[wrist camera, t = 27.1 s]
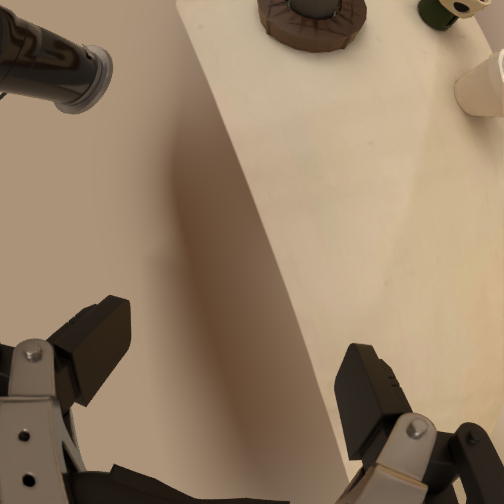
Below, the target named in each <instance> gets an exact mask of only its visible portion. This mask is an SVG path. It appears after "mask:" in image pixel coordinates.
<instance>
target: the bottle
mask: <svg viewBox="0 0 504 504" xmlns="http://www.w3.org/2000/svg"><path fill="white" fill-rule="evenodd" d="M338 1H339V0H291V3H290V9H291V10H292V11H293V12H295V13H296V14H298V15H300V16H302V17H305V18H309V19H314V20H325V19H329V18H332V16H333V14H334V11H335V9H336V6H337V3H338Z"/></svg>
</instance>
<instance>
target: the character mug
mask: <svg viewBox="0 0 504 504" xmlns="http://www.w3.org/2000/svg"><path fill="white" fill-rule="evenodd" d="M490 3H491V0H421V1H419V3H418V8H419V11H420V13H421V15H422V17H423V18H424V20H425V21H426V22H427V23H428V24H430V25H431V26H432V27H434V28H436V29H438V30H441V29H442V28H443V27H445V26H448V25H449V26H448V27H447V28H446V29H445V31H446V30H447V29H448V28H450V27H451V26H452V25H453V24H454V23H455V21H456V20H457V19H458V18H459V17H460V18H463V19H465V18H469V17H472V16H473V15H474V14H475V12H478V11H480V10H483V9H484V8H485V7H487V6H488V5H490Z"/></svg>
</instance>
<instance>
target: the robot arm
mask: <svg viewBox="0 0 504 504" xmlns="http://www.w3.org/2000/svg"><path fill="white" fill-rule="evenodd" d="M82 45H83V44H82ZM83 47H84V48H85V49H84V48H82V47H81V46H79V45H77V44H75V43H73V42H71V41H69V40H67V39H65V38H63V37H61V36H59V35H57V34H55V33H53V32H50V31H48V30H46V29H44V28H42V27H40V26H37V25H35V24H33V23H30V22H28V21H25V20H23V19H21V18H19V17H17V16H16V15H15V14H14V13H13V12H12V11H11V10H10V9H8V8H6V7H3V6H1V5H0V92H3V93H2V94H1V95H0V100H1V99H2V98H3V97H4V96H5V95H6V94H7V93H11V94H18V95H23V96H28V97H33V98H39V99H44V100H49V101H53V102H57V103H61V104H63V105H68V106H72V105H76V104H78V103H80V102H82V101H83V100H85V99H86V98H87V97H88V96H89V95H90V94H91V93H92V91H93V90H94V88H95V87H96V85H97V83H98V81H99V78H100V74H101V61H100V58H99V57H98V56H97V55H96V54H95V53H93V52H91V51H89V49H88V48H87V46H85V45H83ZM130 342H131V310H130V302H129V300H127V299H123V298H119V297H116V296H112V295H109V296H107V297H106V298H105V299H104V300H102V301H101V302H100V303H99V304H98V305H97V304H94V305H91V306H89V307H86V308H84V309H82V310H81V311H80V312H79V313H78V314H76V315H75V317H73V318H72V319H70V320H69V322H67V323H65V324H64V325H63V326H62V327H61V328H60V329H58V330H57V331H56V332H55V333H54V334H52V335H51V336H50V337H49V338H48V339H47V340H46V341H44V340H42V339H28V340H25V341H23V342H21V343H19V344H18V345H17V346H16V347H11V346H6V345H3V344H0V504H290V501H273V500H261V499H251V498H237V499H196V498H193V497H191V496H188V495H186V494H184V493H182V492H180V491H178V490H176V489H174V488H172V487H170V486H168V485H166V484H164V483H162V482H160V481H159V480H157V479H155V478H152V477H149V476H146V475H143V474H140V473H137V472H134V471H132V470H129V469H126V468H124V467H121V466H118V465H116V464H114V465H113V467H112V469H111V471H110V473H109V472H101V471H87V470H86V468H85V466H84V463H83V460H82V457H81V454H80V450H79V446H78V442H77V436H76V431H75V426H74V421H73V415H72V410H71V406H72V405H73V403H74V402H76V403H78V404H80V405H83V406H85V407H87V405H88V404H89V403H90V401H91V400H92V398H93V397H94V396H95V394H96V393H97V391H98V390H99V389H100V387H101V386H102V384H103V383H104V382H105V380H106V379H107V378H108V376H109V375H110V374H111V372H112V371H113V369H114V368H115V367H116V365H117V364H118V363H119V361H120V360H121V359H122V357H123V356H124V355H125V353H126V352H127V351H128V349H129V346H130ZM334 392H335V396H336V401H337V405H338V410H339V414H340V419H341V423H342V428H343V433H344V437H345V442H346V447H347V452H348V457H349V461H350V460H362V463H363V466H362V467H361V468H360V469H359V470H358V472H357V473H356V475H355V476H354V478H353V479H352V481H351V482H350V484H349V485H348V486H347V488H346V489H345V491H344V492H343V493H342V495H341V496H340V497H339V499H338V500H337V501H336V503H335V504H459V503H458V500H457V497H456V494H455V491H454V488H453V485H452V483H453V482H454V481H455V480H457V479H458V478H459V477H460V479H461V482H462V484H463V487H464V490H465V493H466V497H467V500H466V504H504V466H503V464H502V462H501V460H500V458H499V456H498V454H497V452H496V450H495V448H494V446H493V444H492V442H491V440H490V438H489V436H488V434H487V433H486V431H485V430H484V429H483V428H482V427H480V426H479V425H477V424H475V423H470V422H466V423H463V424H462V425H460V427H459V428H458V429H457V430H456V432H455V433H454V434H453V433H446V432H440V431H436V428H435V426H434V424H433V423H432V422H431V421H430V420H429V419H428V418H427V417H425V416H423V415H421V414H418V413H413V411H412V409H411V407H410V405H409V403H408V401H407V399H406V397H405V395H404V392H403V390H402V388H401V387H400V384H399V382H398V381H397V379H396V377H395V375H394V373H393V371H392V369H391V367H390V366H389V365H387V364H386V363H385V362H384V361H383V360H382V359H379V358H378V356H377V354H376V352H375V350H374V348H373V347H372V345H366V344H356V343H352V344H350V345H349V347H348V349H347V352H346V354H345V357H344V359H343V361H342V364H341V366H340V369H339V371H338V373H337V376H336V379H335V384H334Z"/></svg>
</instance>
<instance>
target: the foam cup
mask: <svg viewBox="0 0 504 504" xmlns="http://www.w3.org/2000/svg"><path fill="white" fill-rule="evenodd" d="M454 90H455V97H456V99H457V102H458V104H459V105H460V107H461V108H462V109H463V111H464V112H466V113H467V114H469V115H470V116H490V117H504V49H501V50H499V51H497V52H495V53H493V54H492V55H490V56H489V58H488V59H487V60H485V61H484V62H483V63H481V64H480V65H478V66H477V67H476V68H474V69H473V70H471V71H470V72H468V73H467V74H466V75H464V76H463V77H461V78H460V79H459V80H458V81H456V84H455V87H454Z"/></svg>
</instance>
